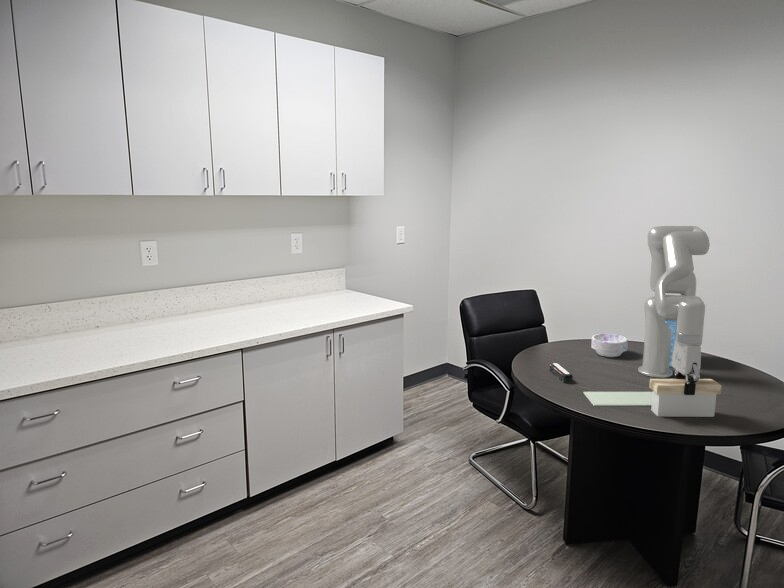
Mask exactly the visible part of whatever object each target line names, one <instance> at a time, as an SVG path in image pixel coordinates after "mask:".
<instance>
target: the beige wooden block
mask: <svg viewBox="0 0 784 588" xmlns="http://www.w3.org/2000/svg"><path fill="white" fill-rule="evenodd" d="M685 383H686V378H685V379H675V378H649V385H648V386H649V389H651V391H652V392H653V391H654V392H655V393H656V394H684V387H685ZM721 393H722V385H721V384H720V383H719V382H717V381H716V380H714V379H713V378H699V379H698V381H697V384H696V387H695V394H716V395H721Z"/></svg>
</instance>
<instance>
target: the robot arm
mask: <svg viewBox="0 0 784 588" xmlns="http://www.w3.org/2000/svg"><path fill="white" fill-rule="evenodd" d="M709 238H710V237H709V236H708V234H707V233H706V232H705V230H703V229H702V228H700V227H699V226H696V225H659V226H654V227H651V228H650V229H649V231H648V233H647V245H648V249H649V253H650V257H651V265H650V279H649V282H650V283H649V285H650V290H651V291H652V292H654V296H651V297H648V298H647V299H646V300H645V302H644V320H645V321H644V323H645V326H644V343H643V353H642V354H643V356H642V365H641V366H639V367H638V368H637V371H638V373H639V374H642V375H644V376H647V377H652V378H657V379H667V378H670V377H672V376H673V373H674V379H686V383H685V387H684V394H685V395H695V387H696V384H697V381H698V379H701V375H700V373H701V364H702V361H701V360H702V348H701V346H702V345H703V337H704V336H703V335H704V326H705V325H704V324H705V315H706V304H705V302H704V301H703V299H702V298H701V297H700V296H697V295H696V293H697V292H696V291H697V278H696V274H695V272H694V269H695V268H694V262H693V256H704V255H706V254H708V252H709V250H710V244H711V243H710V239H709ZM675 294H676V295H675ZM677 294H678V295H677ZM679 294H680V295H679ZM665 321H677V329H676V340H675V344H674V349H673V355H672V363H671V365H672V367H671V368H673V369H674V370H675V371H674V372H673V370H672V369H670V367H669V360H670V348H671V335H672V333H671V329H670V328H669V326H668V325H667V324H666V323H665Z"/></svg>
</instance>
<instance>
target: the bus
mask: <svg viewBox="0 0 784 588" xmlns="http://www.w3.org/2000/svg"><path fill="white" fill-rule="evenodd" d="M549 372H550V373H552V375H554V376H555V377H556V378H557V379H558V380H559V381H560V382H562V383H563V384H572V383H573V374H572V373H570V372H569V371H568V370H567V369H566V368H565V367H563V366H561V364H559V363H558V362H553V363H552V362H551V363H550V364H549Z"/></svg>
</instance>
